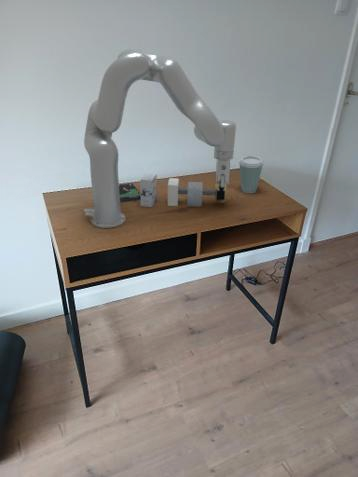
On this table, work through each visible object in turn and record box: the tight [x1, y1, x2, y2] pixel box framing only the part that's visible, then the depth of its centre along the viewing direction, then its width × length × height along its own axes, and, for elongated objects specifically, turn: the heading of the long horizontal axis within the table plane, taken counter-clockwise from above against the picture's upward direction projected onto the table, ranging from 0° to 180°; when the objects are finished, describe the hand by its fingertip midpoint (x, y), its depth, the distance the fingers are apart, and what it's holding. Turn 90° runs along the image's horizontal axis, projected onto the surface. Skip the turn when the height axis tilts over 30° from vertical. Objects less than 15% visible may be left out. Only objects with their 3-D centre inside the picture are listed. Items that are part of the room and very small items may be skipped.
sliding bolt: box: [178, 180, 228, 204], centre depth 151 cm, size 23×5×8 cm, turn 86°
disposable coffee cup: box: [238, 155, 264, 194], centre depth 163 cm, size 11×11×15 cm
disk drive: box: [119, 183, 141, 203], centre depth 159 cm, size 10×3×15 cm
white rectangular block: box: [167, 177, 180, 207], centre depth 152 cm, size 4×8×9 cm, turn 176°
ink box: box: [139, 172, 158, 208], centre depth 150 cm, size 9×5×12 cm, turn 168°
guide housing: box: [186, 181, 204, 208], centre depth 152 cm, size 6×7×8 cm
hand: (220, 196), depth 151 cm, fingers closed on sliding bolt, 4 cm apart
